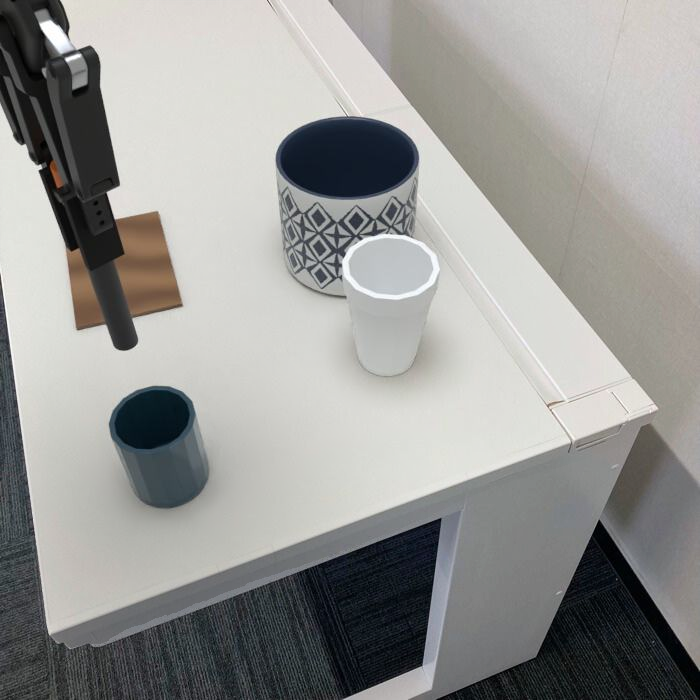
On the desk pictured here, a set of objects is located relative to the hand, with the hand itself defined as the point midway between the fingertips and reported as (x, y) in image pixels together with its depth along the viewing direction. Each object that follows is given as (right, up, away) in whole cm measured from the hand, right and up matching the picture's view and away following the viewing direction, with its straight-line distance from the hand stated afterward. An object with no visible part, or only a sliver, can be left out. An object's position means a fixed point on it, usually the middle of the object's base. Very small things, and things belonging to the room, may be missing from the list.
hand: (95, 249), depth 55 cm
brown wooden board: (-10, +3, +39) cm, 41 cm away
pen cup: (+1, -19, +19) cm, 27 cm away
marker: (0, -6, +7) cm, 10 cm away
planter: (+18, +5, +41) cm, 45 cm away
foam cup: (+22, -8, +30) cm, 38 cm away
